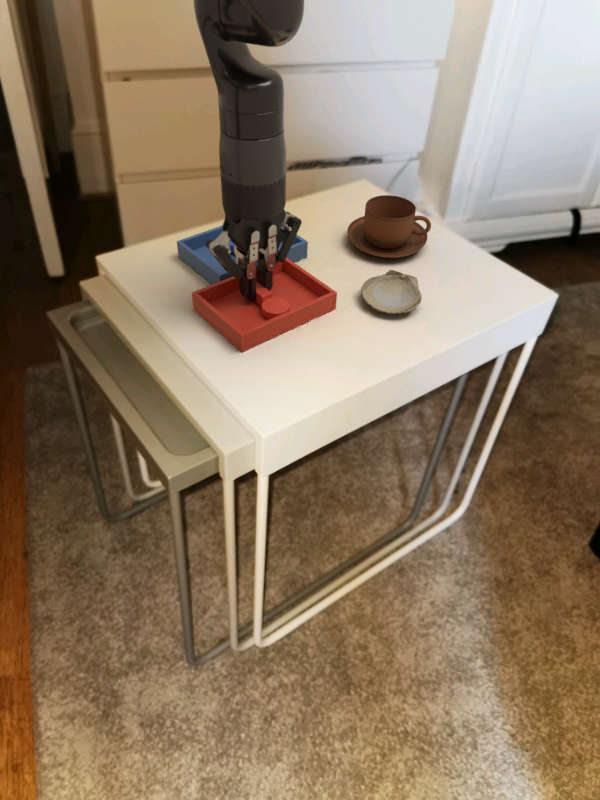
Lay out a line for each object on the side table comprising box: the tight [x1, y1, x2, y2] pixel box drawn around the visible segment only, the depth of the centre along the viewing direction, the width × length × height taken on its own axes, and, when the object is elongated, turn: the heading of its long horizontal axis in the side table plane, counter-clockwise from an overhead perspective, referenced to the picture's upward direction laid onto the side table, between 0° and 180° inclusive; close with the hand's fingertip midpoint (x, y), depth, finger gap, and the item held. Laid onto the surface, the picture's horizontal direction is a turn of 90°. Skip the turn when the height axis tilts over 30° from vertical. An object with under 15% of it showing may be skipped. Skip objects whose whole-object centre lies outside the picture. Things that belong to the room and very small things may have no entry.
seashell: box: [360, 269, 423, 315], centre depth 85 cm, size 8×3×8 cm
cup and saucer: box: [346, 194, 432, 259], centre depth 95 cm, size 12×12×6 cm
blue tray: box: [176, 224, 309, 285], centre depth 93 cm, size 15×11×3 cm
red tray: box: [191, 257, 338, 353], centre depth 83 cm, size 15×11×3 cm
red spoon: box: [255, 281, 290, 319], centre depth 83 cm, size 8×4×2 cm, turn 39°
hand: (256, 294), depth 85 cm, fingers closed on red spoon, 1 cm apart
